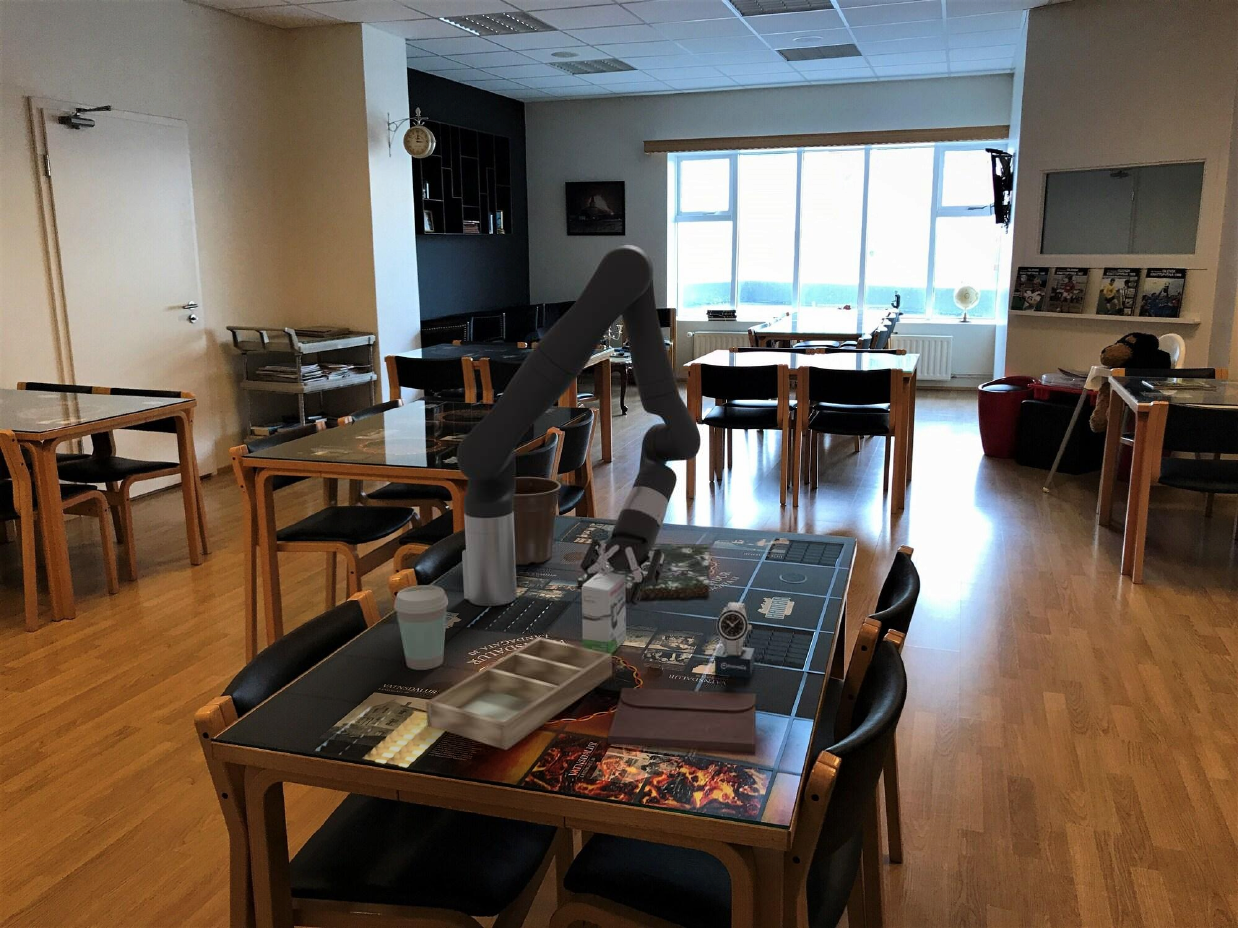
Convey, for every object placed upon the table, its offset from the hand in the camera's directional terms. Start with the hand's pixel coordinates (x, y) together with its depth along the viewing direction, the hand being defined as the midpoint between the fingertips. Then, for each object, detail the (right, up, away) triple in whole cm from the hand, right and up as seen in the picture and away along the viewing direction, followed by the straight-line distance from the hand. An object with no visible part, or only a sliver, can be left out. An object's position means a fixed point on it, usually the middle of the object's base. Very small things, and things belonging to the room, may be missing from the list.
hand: (607, 600), depth 164 cm
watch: (+20, -10, -9) cm, 24 cm away
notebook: (+11, -14, -25) cm, 31 cm away
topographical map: (+8, 0, +38) cm, 39 cm away
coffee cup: (-30, -10, -5) cm, 32 cm away
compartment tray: (-12, -12, -18) cm, 25 cm away
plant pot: (-18, +2, +49) cm, 53 cm away
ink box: (-1, -8, +1) cm, 8 cm away
